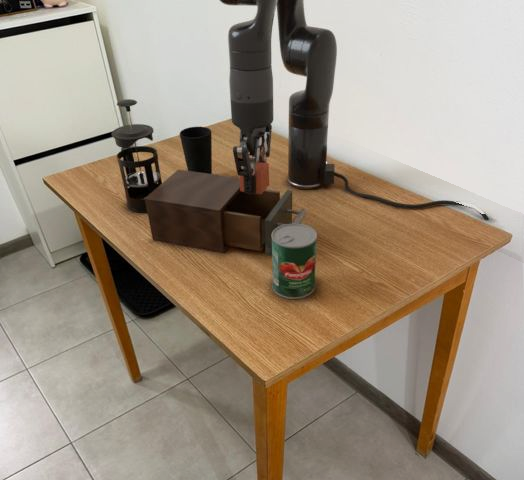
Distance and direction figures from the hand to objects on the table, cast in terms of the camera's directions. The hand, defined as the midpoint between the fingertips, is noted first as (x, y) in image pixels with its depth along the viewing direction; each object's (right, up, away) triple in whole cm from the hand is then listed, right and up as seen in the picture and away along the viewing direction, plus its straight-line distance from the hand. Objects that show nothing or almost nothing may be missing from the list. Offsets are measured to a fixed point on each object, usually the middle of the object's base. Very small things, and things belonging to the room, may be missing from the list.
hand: (255, 187), depth 99 cm
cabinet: (-12, -6, +11) cm, 17 cm away
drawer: (0, -8, +7) cm, 11 cm away
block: (0, 0, 0) cm, 0 cm away
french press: (-26, +3, +22) cm, 34 cm away
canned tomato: (+7, -20, -5) cm, 22 cm away
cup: (-14, +11, +30) cm, 35 cm away
